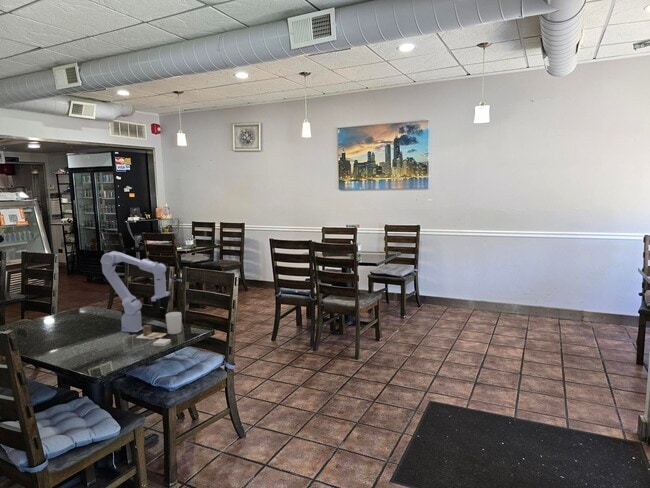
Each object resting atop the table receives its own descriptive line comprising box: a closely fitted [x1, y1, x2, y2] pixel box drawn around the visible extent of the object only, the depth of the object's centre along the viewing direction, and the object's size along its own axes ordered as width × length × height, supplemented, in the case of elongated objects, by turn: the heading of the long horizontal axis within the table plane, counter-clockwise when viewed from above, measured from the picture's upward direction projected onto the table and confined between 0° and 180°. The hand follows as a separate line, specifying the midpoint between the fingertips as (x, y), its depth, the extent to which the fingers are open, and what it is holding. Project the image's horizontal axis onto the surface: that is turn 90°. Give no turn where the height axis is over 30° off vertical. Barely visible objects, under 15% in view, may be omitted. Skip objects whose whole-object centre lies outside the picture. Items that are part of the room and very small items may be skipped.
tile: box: [152, 338, 172, 347], centre depth 209 cm, size 2×6×6 cm
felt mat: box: [135, 333, 156, 340], centre depth 220 cm, size 10×8×1 cm
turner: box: [142, 324, 168, 339], centre depth 219 cm, size 11×6×5 cm, turn 79°
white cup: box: [165, 311, 183, 335], centre depth 225 cm, size 8×8×10 cm
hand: (161, 311), depth 230 cm, fingers open, 7 cm apart
